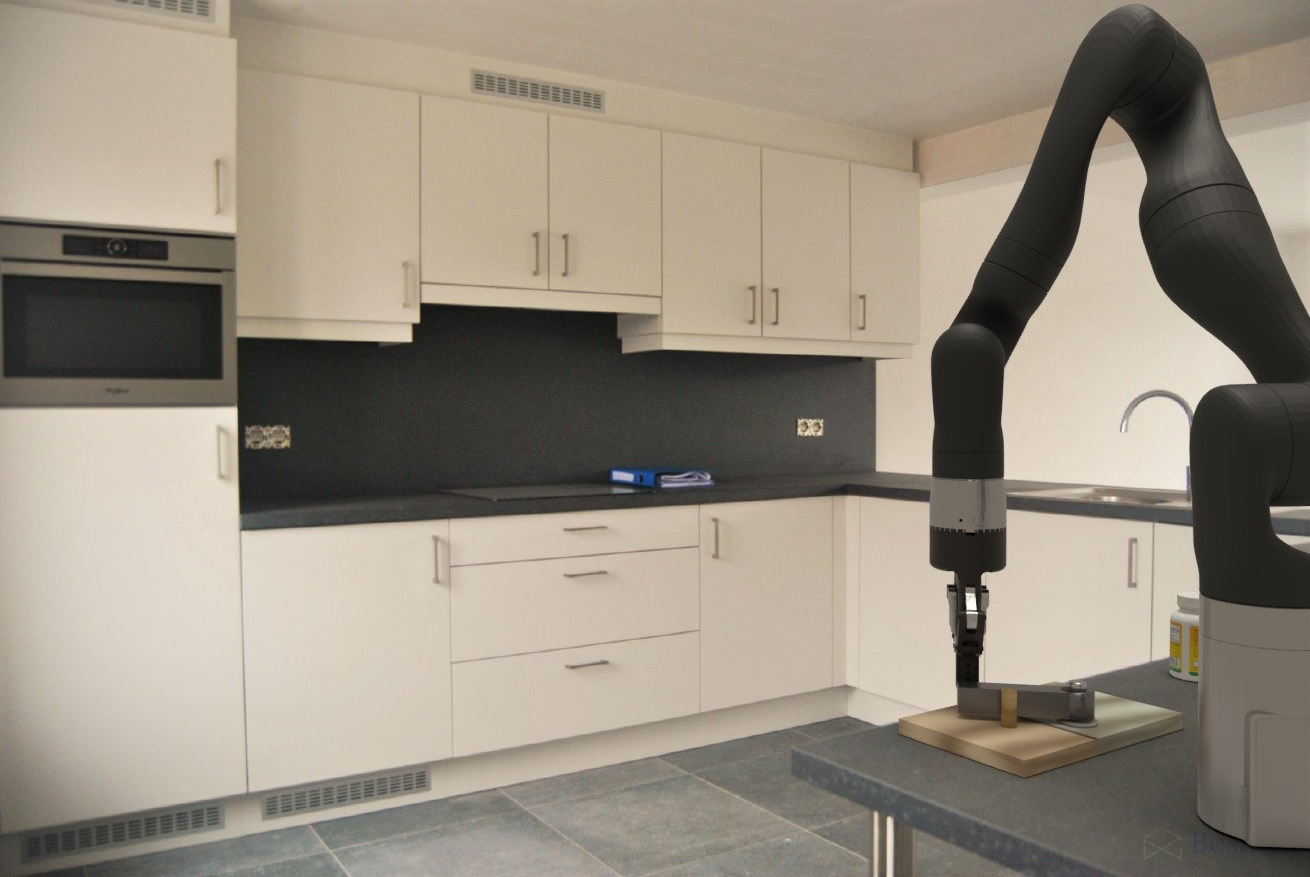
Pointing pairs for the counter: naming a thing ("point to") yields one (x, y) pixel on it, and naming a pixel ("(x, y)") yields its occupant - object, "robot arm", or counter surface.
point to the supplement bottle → (1185, 637)
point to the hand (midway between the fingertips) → (967, 690)
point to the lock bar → (1029, 700)
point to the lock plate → (1039, 732)
